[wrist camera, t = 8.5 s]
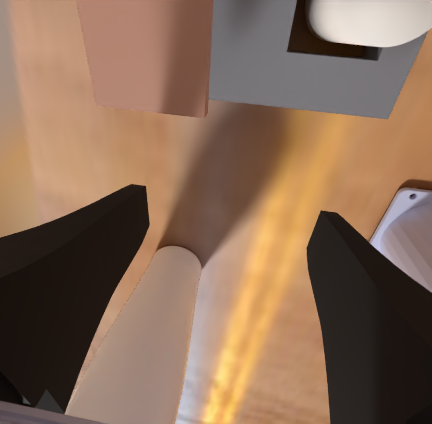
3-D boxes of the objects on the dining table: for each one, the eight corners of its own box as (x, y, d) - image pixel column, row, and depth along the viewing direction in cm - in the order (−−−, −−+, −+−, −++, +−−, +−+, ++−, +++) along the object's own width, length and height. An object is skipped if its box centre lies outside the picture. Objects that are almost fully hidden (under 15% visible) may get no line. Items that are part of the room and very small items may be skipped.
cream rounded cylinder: (150, 278, 30) (73, 450, 17) (143, 233, 26) (37, 414, 13) (208, 286, 29) (170, 471, 17) (210, 241, 25) (162, 439, 13)
